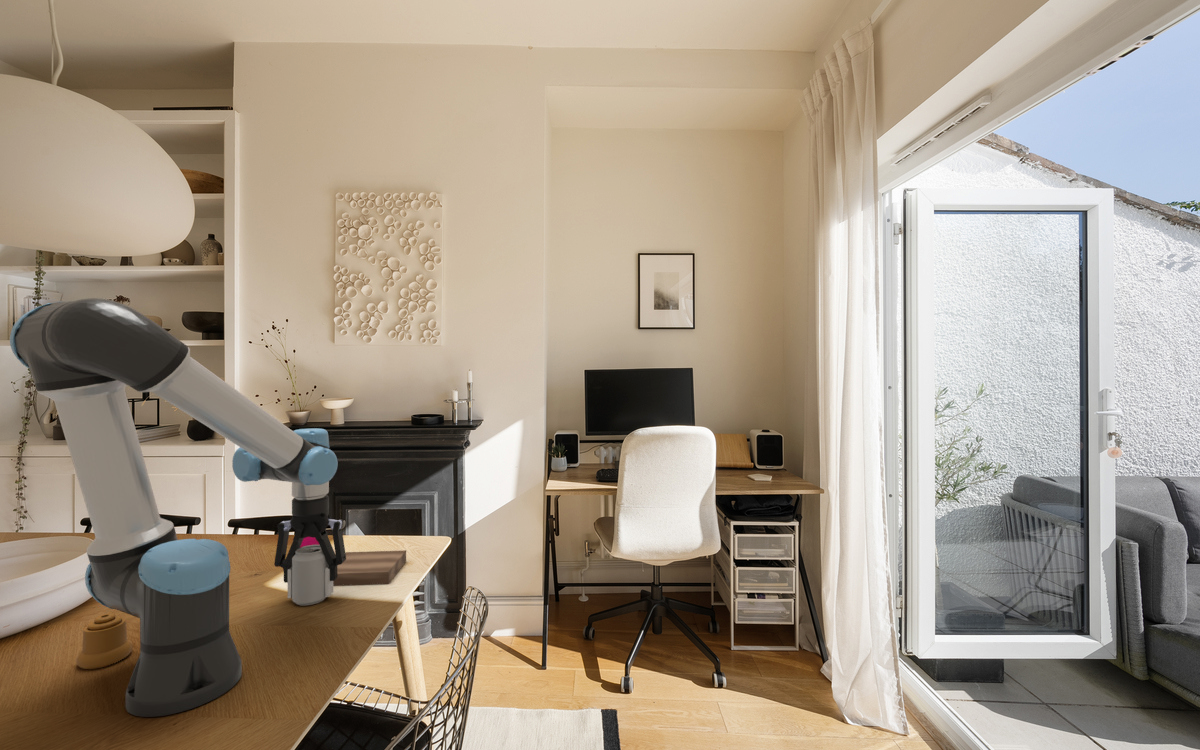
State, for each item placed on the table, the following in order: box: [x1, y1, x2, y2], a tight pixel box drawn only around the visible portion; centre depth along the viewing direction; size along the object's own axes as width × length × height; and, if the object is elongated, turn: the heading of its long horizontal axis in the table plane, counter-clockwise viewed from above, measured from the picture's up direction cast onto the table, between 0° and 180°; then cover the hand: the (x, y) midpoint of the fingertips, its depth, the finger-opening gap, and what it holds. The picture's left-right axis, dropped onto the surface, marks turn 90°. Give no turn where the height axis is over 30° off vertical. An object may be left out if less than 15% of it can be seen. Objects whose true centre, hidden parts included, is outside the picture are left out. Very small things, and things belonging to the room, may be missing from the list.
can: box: [291, 545, 328, 607], centre depth 122 cm, size 8×8×12 cm
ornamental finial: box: [76, 613, 133, 670], centre depth 97 cm, size 8×8×8 cm
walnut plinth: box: [333, 549, 407, 587], centre depth 139 cm, size 16×16×3 cm
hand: (310, 595), depth 122 cm, fingers closed on can, 7 cm apart
